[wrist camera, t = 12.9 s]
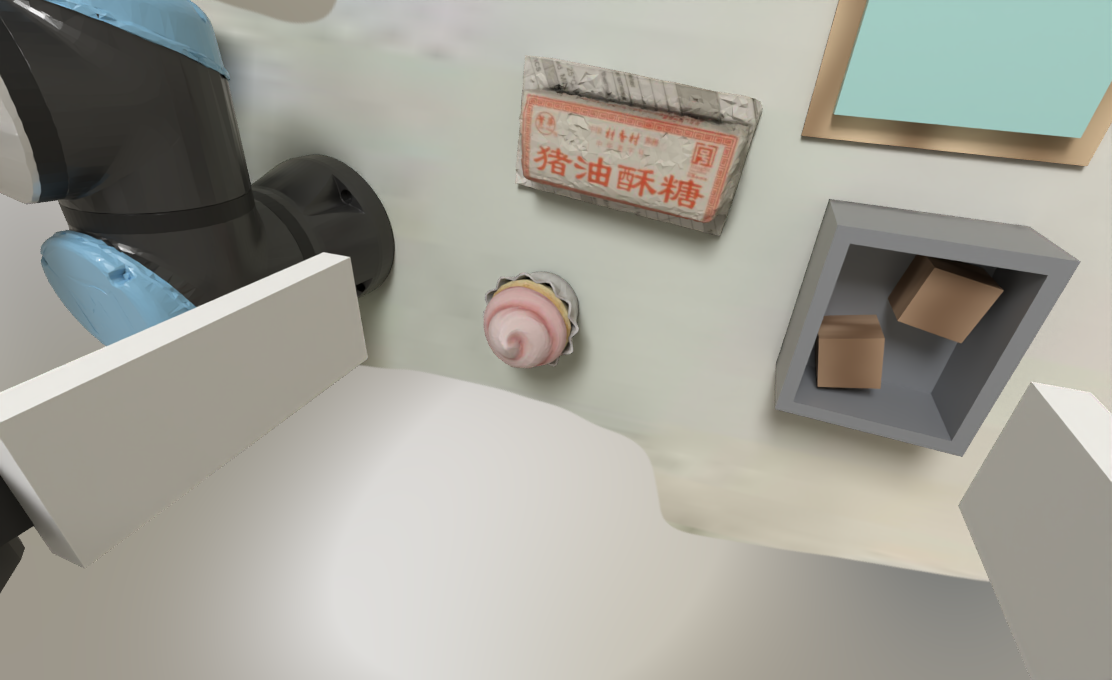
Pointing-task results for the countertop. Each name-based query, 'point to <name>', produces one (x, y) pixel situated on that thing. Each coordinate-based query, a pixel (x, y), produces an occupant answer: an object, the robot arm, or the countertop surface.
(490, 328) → the cupcake
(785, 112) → the countertop surface
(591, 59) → the countertop surface
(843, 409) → the tub
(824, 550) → the countertop surface
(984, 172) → the countertop surface
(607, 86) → the packaged product
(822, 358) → the block
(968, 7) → the lid
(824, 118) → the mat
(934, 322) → the block
